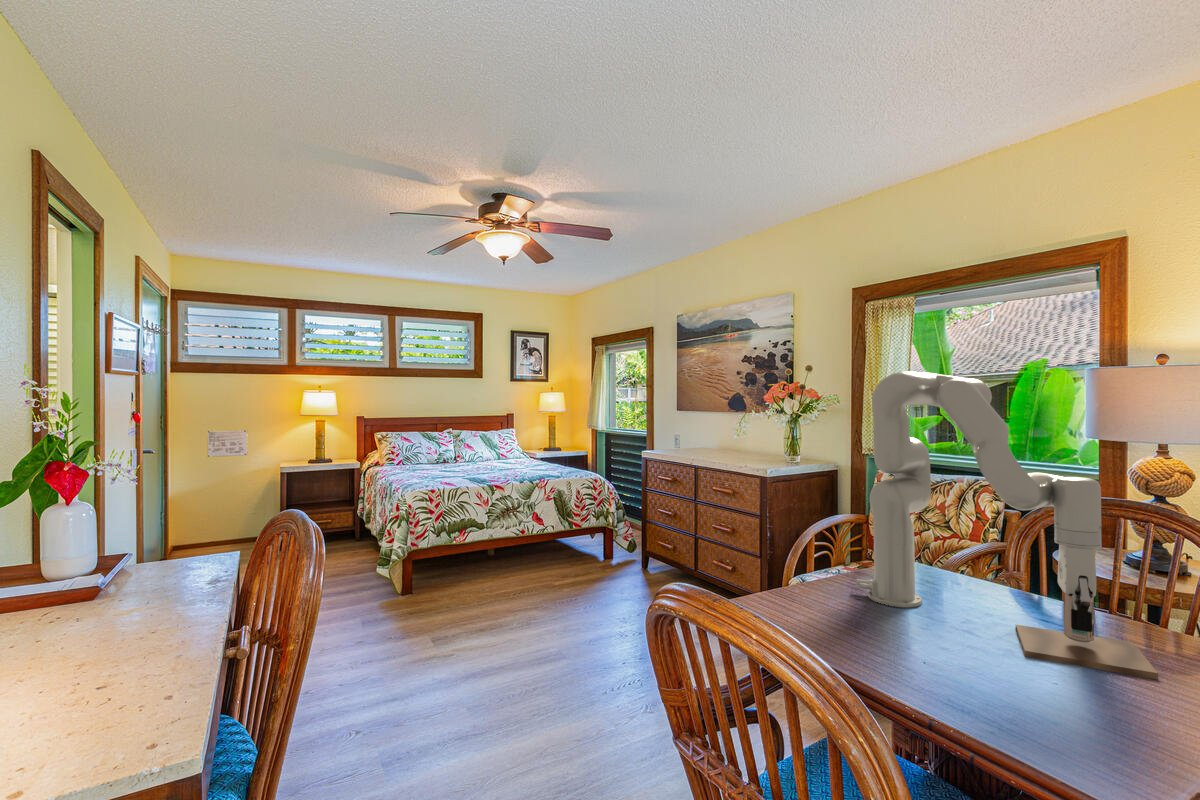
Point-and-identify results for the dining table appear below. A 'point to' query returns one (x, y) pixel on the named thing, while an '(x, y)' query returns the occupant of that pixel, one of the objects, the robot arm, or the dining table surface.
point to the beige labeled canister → (1068, 631)
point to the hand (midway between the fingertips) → (1078, 624)
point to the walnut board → (1085, 652)
